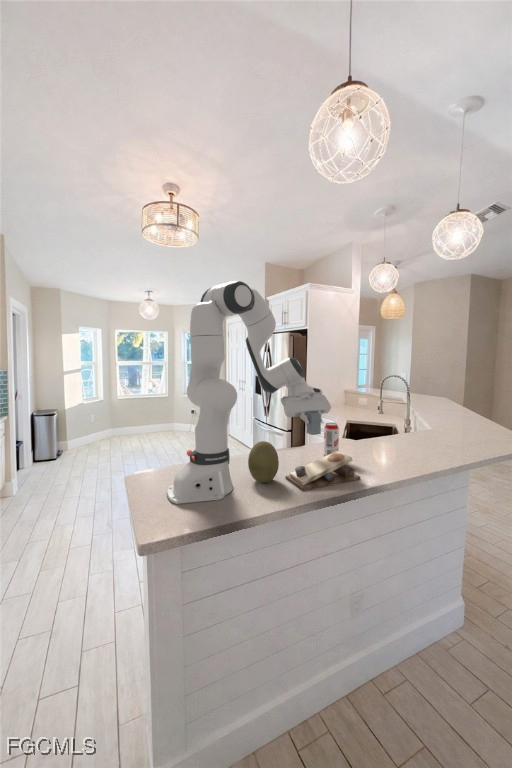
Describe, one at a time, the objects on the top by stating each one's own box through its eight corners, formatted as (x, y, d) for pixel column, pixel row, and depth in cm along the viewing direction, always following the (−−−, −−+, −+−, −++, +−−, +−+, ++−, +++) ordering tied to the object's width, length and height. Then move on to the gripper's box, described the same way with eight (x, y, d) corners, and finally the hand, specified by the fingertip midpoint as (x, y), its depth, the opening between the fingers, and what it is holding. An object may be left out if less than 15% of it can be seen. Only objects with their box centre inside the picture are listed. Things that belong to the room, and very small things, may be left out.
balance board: (302, 485, 111) (300, 475, 110) (290, 476, 119) (288, 467, 118) (352, 460, 118) (350, 451, 118) (337, 454, 127) (335, 445, 126)
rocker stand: (301, 490, 109) (301, 479, 109) (285, 478, 120) (285, 468, 120) (360, 479, 118) (360, 468, 118) (340, 468, 129) (340, 459, 129)
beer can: (322, 460, 140) (322, 424, 138) (326, 456, 145) (326, 421, 144) (336, 462, 137) (336, 426, 135) (340, 458, 142) (340, 423, 141)
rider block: (312, 435, 124) (312, 414, 123) (306, 432, 127) (306, 413, 127) (320, 433, 125) (320, 413, 125) (314, 431, 129) (314, 412, 128)
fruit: (244, 478, 121) (243, 439, 120) (271, 473, 125) (271, 436, 124) (254, 489, 110) (254, 447, 109) (284, 484, 114) (283, 443, 113)
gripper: (281, 392, 127) (294, 420, 119) (324, 389, 135) (339, 415, 127) (276, 401, 132) (288, 429, 124) (318, 398, 140) (332, 424, 132)
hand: (314, 422), depth 125 cm, fingers closed on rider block, 4 cm apart
